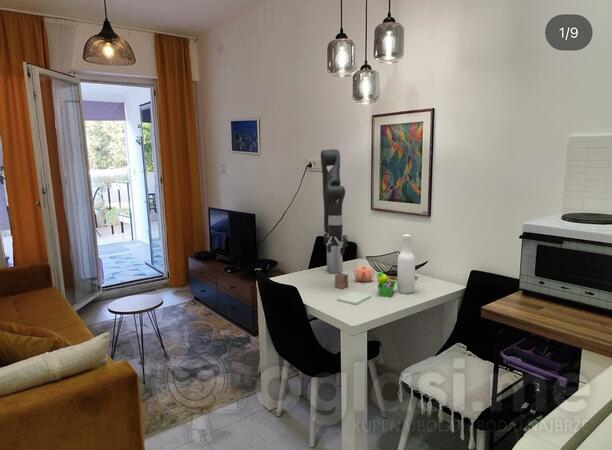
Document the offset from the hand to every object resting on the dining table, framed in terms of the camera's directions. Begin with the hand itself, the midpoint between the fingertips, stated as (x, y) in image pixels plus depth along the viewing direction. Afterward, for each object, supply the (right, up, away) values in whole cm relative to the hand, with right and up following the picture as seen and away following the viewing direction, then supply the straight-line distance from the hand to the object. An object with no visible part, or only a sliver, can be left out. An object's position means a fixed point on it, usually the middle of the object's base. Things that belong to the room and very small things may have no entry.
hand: (335, 253), depth 220 cm
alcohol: (+36, -20, -6) cm, 42 cm away
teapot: (+17, -17, +15) cm, 28 cm away
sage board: (+8, -22, -16) cm, 28 cm away
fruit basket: (+25, -20, -8) cm, 33 cm away
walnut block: (+3, -19, +3) cm, 19 cm away
